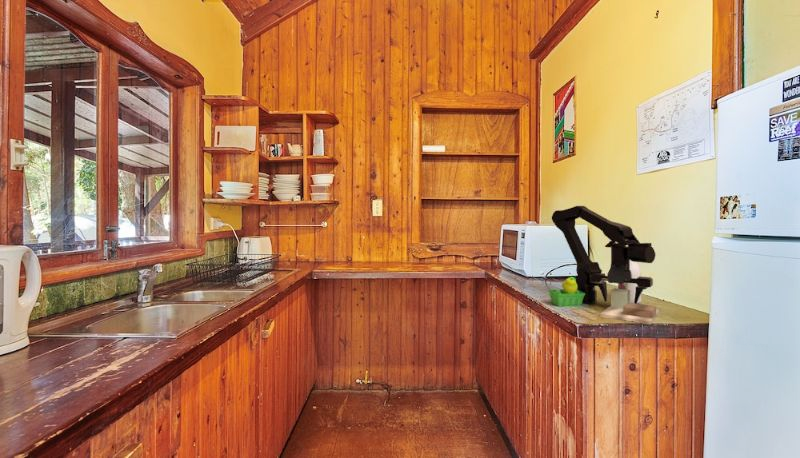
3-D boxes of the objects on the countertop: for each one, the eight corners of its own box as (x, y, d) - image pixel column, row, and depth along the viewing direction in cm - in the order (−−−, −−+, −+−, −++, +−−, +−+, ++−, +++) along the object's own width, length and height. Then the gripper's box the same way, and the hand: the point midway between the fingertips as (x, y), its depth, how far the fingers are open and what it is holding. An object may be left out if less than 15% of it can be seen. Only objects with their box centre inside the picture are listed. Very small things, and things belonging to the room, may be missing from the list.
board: (599, 316, 119) (599, 313, 119) (615, 304, 135) (615, 301, 135) (650, 324, 109) (650, 321, 109) (660, 310, 125) (660, 307, 125)
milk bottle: (639, 300, 141) (639, 250, 141) (643, 304, 134) (643, 252, 134) (616, 298, 144) (616, 250, 144) (619, 302, 137) (619, 251, 137)
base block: (623, 314, 118) (623, 306, 118) (628, 309, 123) (628, 302, 123) (652, 318, 112) (652, 310, 112) (656, 313, 118) (656, 306, 118)
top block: (610, 306, 128) (610, 290, 127) (614, 304, 131) (614, 288, 131) (626, 309, 124) (626, 292, 124) (629, 306, 128) (629, 289, 128)
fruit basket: (575, 301, 140) (575, 273, 140) (588, 307, 132) (588, 277, 131) (547, 302, 140) (547, 274, 139) (558, 308, 131) (558, 278, 131)
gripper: (585, 260, 128) (585, 303, 128) (647, 264, 115) (647, 312, 115) (594, 258, 136) (594, 298, 136) (653, 261, 123) (653, 305, 124)
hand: (620, 303), depth 128 cm, fingers open, 9 cm apart
